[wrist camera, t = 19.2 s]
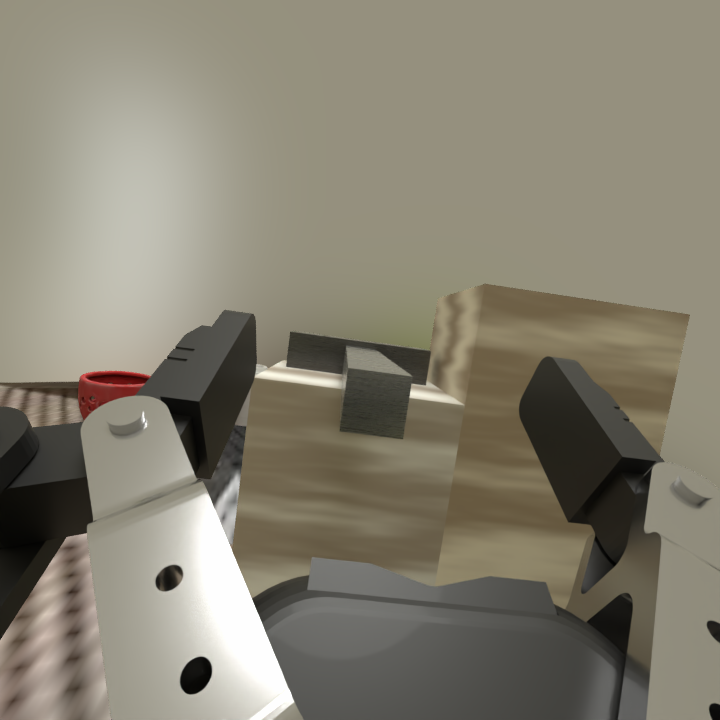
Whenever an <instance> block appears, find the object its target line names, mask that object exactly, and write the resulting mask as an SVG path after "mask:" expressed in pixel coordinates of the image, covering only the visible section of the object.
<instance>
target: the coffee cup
mask: <svg viewBox="0 0 720 720" xmlns="http://www.w3.org/2000/svg"><path fill="white" fill-rule="evenodd" d="M265 370H267V367H266V366H263V365H259V364H256V373H255V376H256V375H257V374H259V373H261V372H263V371H265ZM250 393H251V389H250V391H249V393H248V395H247V398H246V400H245V402H244V404H243V407H242V409H241V411H240V414H239V416H238V418H237V420H236V423H235V425H238V426H247V419H248V410H249V402H250Z"/></svg>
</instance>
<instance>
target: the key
mask: <svg viewBox="0 0 720 720" xmlns="http://www.w3.org/2000/svg"><path fill="white" fill-rule="evenodd" d="M430 356H431V351H429V350H425V349H420V348H413V347H406V346H399V345H391V344H384V343H377V342H370V341H362V340H356V339H349V338H341V337H334V336H326V335H320V334H312V333H305V332H298V331H292V332H290V339H289V347H288V355H287V363H286V367H290V368H297V369H305V370H312V371H320V372H327V373H335V374H342V386H341V408H340V430H339V432H347V433H355V434H363V435H371V436H380V437H388V438H396V439H403V436H404V430H405V423H406V417H407V410H408V404H409V397H410V391H411V384H417V385H425V386H426V381H427V375H428V369H429V362H430Z"/></svg>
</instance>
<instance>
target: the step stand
mask: <svg viewBox="0 0 720 720" xmlns="http://www.w3.org/2000/svg"><path fill="white" fill-rule="evenodd" d="M689 316H690V315H688V314H682V313H676V312H669V311H662V310H656V309H649V308H643V307H636V306H629V305H622V304H616V303H609V302H603V301H596V300H589V299H583V298H576V297H569V296H562V295H556V294H549V293H542V292H536V291H529V290H523V289H516V288H509V287H503V286H496V285H489V284H483V285H480V286H477V287H474V288H470V289H467V290H463V291H460V292H457V293H454V294H450V295H447V296H444V297H441V298H438V301H437V307H436V314H435V320H434V327H433V333H432V339H431V346H430V351H431V356H430V362H429V369H428V375H427V381H426V386H425V385H417V384H411V391H410V397H409V404H408V410H407V417H406V423H405V430H404V436H403V439H396V438H388V437H380V436H371V435H363V434H355V433H347V432H339V430H340V408H341V386H342V374H335V373H327V372H320V371H312V370H305V369H297V368H290V367H286V363H287V361H284V360H283V361H281V362H279V363H277V364H276V365H274V366H272V367H270V368H269V369H267V370H265V371H263V372H261V373H259V374H257V375H256V376H255V378H254V381H253V384H252V386H251V393H250V402H249V410H248V419H247V427H246V436H245V445H244V453H243V462H242V470H241V479H240V488H239V496H238V505H237V513H236V522H235V531H234V539H233V548H232V553H233V555H234V558H235V560H236V562H237V565H238V567H239V570H240V572H241V575H242V577H243V579H244V582H245V584H246V587H247V589H248V591H249V594H250V596H251V599H252V598H253V597H255V596H257V595H258V594H260V593H261V592H263V591H265V590H266V589H268V588H270V587H272V586H274V585H277V584H279V583H281V582H284V581H287V580H290V579H293V578H296V577H301V576H306V575H309V574H310V567H311V560H312V557H316V558H325V559H334V560H344V561H353V562H362V563H371V564H374V565H376V566H379V567H381V568H384V569H387V570H389V571H392V572H394V573H397V574H400V575H402V576H405V577H407V578H410V579H413V580H415V581H418V582H420V583H423V584H426V585H429V586H443V585H448V584H453V583H458V582H463V581H468V580H473V579H478V578H483V577H488V576H493V577H503V578H512V579H521V580H531V581H540V582H546V584H547V587H548V589H549V592H550V595H551V598H552V601H553V603H554V604H555V605H557V606H559V607H561V608H563V609H565V608H566V606H567V604H568V602H569V599H570V596H571V592H572V589H573V585H574V582H575V578H576V575H577V571H578V568H579V564H580V561H581V557H582V554H583V550H584V547H585V543H586V540H587V538H588V537H589V536H590V535H591V534H592V532H593V531H594V530H593V528H592V526H591V525H587V524H578V523H570V522H568V521H567V519H566V517H565V515H564V512H563V510H562V508H561V506H560V504H559V502H558V500H557V497H556V495H555V493H554V491H553V489H552V487H551V484H550V482H549V480H548V478H547V476H546V474H545V471H544V469H543V467H542V465H541V463H540V461H539V459H538V456H537V454H536V452H535V450H534V448H533V446H532V443H531V441H530V439H529V437H528V435H527V433H526V430H525V428H524V426H523V424H522V422H521V420H520V416H519V404H520V400H521V398H522V396H523V394H524V392H525V390H526V388H527V386H528V384H529V382H530V380H531V378H532V376H533V374H534V372H535V370H536V369H537V367H538V365H539V363H540V361H541V360H542V359H543V358H545V357H547V356H550V357H557V358H564V359H572V360H576V361H577V362H578V363H579V364H580V365H581V366H582V367H583V369H584V370H585V371H586V372H587V374H588V375H589V376H590V377H591V379H592V380H593V381H594V382H595V383H596V384H597V385H599V386H600V387H601V388H603V389H604V390H605V391H607V392H608V393H609V394H610V395H611V397H612V398H613V399H614V400H615V401H616V403H617V404H618V405H619V406H620V410H623V411H624V413H625V414H626V415H627V416H628V417H629V419H630V420H629V421H630V422H633V424H634V425H635V426H636V427H637V429H638V430H639V431H640V432H641V433H642V435H643V436H644V437H645V438H646V440H647V441H648V442H649V443H650V444H651V446H652V447H653V448H654V449H655V451H656V452H657V453H658V454H659V456H660V451H661V446H662V442H663V437H664V433H665V428H666V423H667V419H668V414H669V409H670V405H671V400H672V395H673V390H674V386H675V382H676V377H677V372H678V367H679V363H680V358H681V354H682V349H683V344H684V340H685V335H686V330H687V326H688V321H689Z"/></svg>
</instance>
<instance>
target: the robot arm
mask: <svg viewBox="0 0 720 720" xmlns="http://www.w3.org/2000/svg"><path fill="white" fill-rule="evenodd" d="M256 364H257V356H256V320H255V316H254V314H249V313H243V312H236V311H229V310H224V311H223V312H222V314H221V315H220V316H219V318H218V319H217V320H216V322H215V323H214V324H213V326H212V327H210V326H200V327H198V328H196V329H195V330H193V331H191V332H190V333H187V334H186V335H185V336H184V337H183V338H182V339H181V341H180V342H179V343H178V344H177V346H176V348H175V349H173V350H172V351H171V353H170V354H169V355H168V356H167V359H165V360H164V361H163V362H162V364H161V365H160V366H159V367H158V368H157V370H156V371H155V372H154V373H153V374H152V376H151V377H150V378H149V379H148V380H147V382H146V383H145V384H144V385H143V386H142V388H141V389H140V390H139V391H138V392H137V394H136V395H135V396H128V397H123V398H119V399H116V400H113V401H110V402H108V403H106V404H104V405H102V406H100V407H98V408H97V409H95V410H94V411H93V412H92V413H91V414H89V415H88V417H87V418H86V419H85V420H84V422H80V423H71V424H62V425H52V426H43V427H33V428H32V426H31V424H30V422H29V420H28V418H27V416H26V415H25V414H24V413H23V412H22V411H20V410H18V409H15V408H11V407H0V639H1V638H2V636H3V635H4V633H5V632H6V630H7V629H8V627H9V625H10V624H11V622H12V621H13V619H14V618H15V616H16V615H17V613H18V611H19V610H20V608H21V607H22V605H23V604H24V602H25V601H26V599H27V598H28V596H29V594H30V593H31V591H32V590H33V588H34V587H35V585H36V584H37V582H38V580H39V579H40V577H41V576H42V574H43V573H44V571H45V570H46V568H47V567H48V565H49V563H50V562H51V560H52V559H53V557H54V556H55V554H56V553H57V551H58V550H59V548H60V546H61V545H62V543H63V542H64V540H65V539H66V537H68V536H74V535H79V534H84V533H87V540H88V548H89V556H90V563H91V571H92V579H93V586H94V594H95V601H96V609H97V617H98V624H99V632H100V640H101V647H102V655H103V663H104V670H105V678H106V686H107V693H108V701H109V709H110V716H111V720H720V490H719V489H718V488H717V487H716V486H715V485H714V484H712V483H711V482H710V481H708V480H707V479H706V478H704V477H703V476H701V475H699V474H698V473H696V472H694V471H692V470H690V469H688V468H686V467H683V466H681V465H677V464H674V463H668V462H664V460H663V459H662V458H661V457H660V456H659V454H658V453H657V452H656V451H655V449H654V448H653V447H652V446H651V444H650V443H649V442H648V441H647V440H646V438H645V437H644V436H643V435H642V433H641V432H640V431H639V430H638V429H637V427H636V426H635V425H634V424H633V422H630V421H629V420H630V419H629V417H628V416H627V415H626V414H625V413H624V411H623V410H620V406H619V405H618V404H617V403H616V401H615V400H614V399H613V398H612V397H611V395H610V394H609V393H608V392H607V391H605V390H604V389H603V388H601V387H600V386H599V385H597V384H596V383H595V382H594V381H593V380H592V379H591V377H590V376H589V375H588V374H587V372H586V371H585V370H584V369H583V367H582V366H581V365H580V364H579V363H578V362H577V361H576V360H572V359H564V358H557V357H550V356H547V357H545V358H543V359H542V360H541V361H540V363H539V365H538V367H537V369H536V370H535V372H534V374H533V376H532V378H531V380H530V382H529V384H528V386H527V388H526V390H525V392H524V394H523V396H522V398H521V400H520V404H519V416H520V420H521V422H522V424H523V426H524V428H525V430H526V433H527V435H528V437H529V439H530V441H531V443H532V446H533V448H534V450H535V452H536V454H537V456H538V459H539V461H540V463H541V465H542V467H543V469H544V471H545V474H546V476H547V478H548V480H549V482H550V484H551V487H552V489H553V491H554V493H555V495H556V497H557V500H558V502H559V504H560V506H561V508H562V510H563V512H564V515H565V517H566V519H567V521H568V522H570V523H578V524H587V525H591V526H592V528H593V530H594V531H593V532H592V534H591V535H590V536H589V537H588V538H587V540H586V543H585V547H584V550H583V554H582V557H581V561H580V564H579V568H578V571H577V575H576V578H575V582H574V585H573V589H572V592H571V596H570V599H569V602H568V604H567V606H566V608H565V609H563V608H561V607H559V606H557V605H555V604H554V603H553V601H552V598H551V595H550V592H549V589H548V587H547V584H546V582H540V581H531V580H521V579H512V578H503V577H493V576H488V577H483V578H478V579H473V580H468V581H463V582H458V583H453V584H448V585H443V586H429V585H426V584H423V583H420V582H418V581H415V580H413V579H410V578H407V577H405V576H402V575H400V574H397V573H394V572H392V571H389V570H387V569H384V568H381V567H379V566H376V565H374V564H371V563H362V562H353V561H344V560H334V559H325V558H316V557H312V560H311V567H310V574H309V575H306V576H301V577H296V578H293V579H290V580H287V581H284V582H281V583H279V584H277V585H274V586H272V587H270V588H268V589H266V590H265V591H263V592H261V593H260V594H258V595H257V596H255V597H253V598H252V599H251V596H250V594H249V591H248V589H247V587H246V584H245V582H244V579H243V577H242V575H241V572H240V570H239V567H238V565H237V562H236V560H235V558H234V555H233V553H232V550H231V548H230V545H229V543H228V541H227V538H226V536H225V533H224V531H223V528H222V526H221V524H220V521H219V519H218V516H217V514H216V512H215V509H214V507H213V504H212V502H211V499H210V497H209V495H208V492H207V490H206V488H205V486H204V484H203V482H202V480H201V479H198V480H197V478H204V479H211V477H212V475H213V473H214V470H215V468H216V466H217V463H218V461H219V459H220V457H221V454H222V452H223V450H224V448H225V445H226V443H227V441H228V438H229V436H230V434H231V432H232V429H233V427H234V425H235V423H236V420H237V418H238V416H239V414H240V411H241V409H242V407H243V404H244V402H245V400H246V398H247V395H248V393H249V391H250V389H251V386H252V384H253V381H254V378H255V373H256Z"/></svg>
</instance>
